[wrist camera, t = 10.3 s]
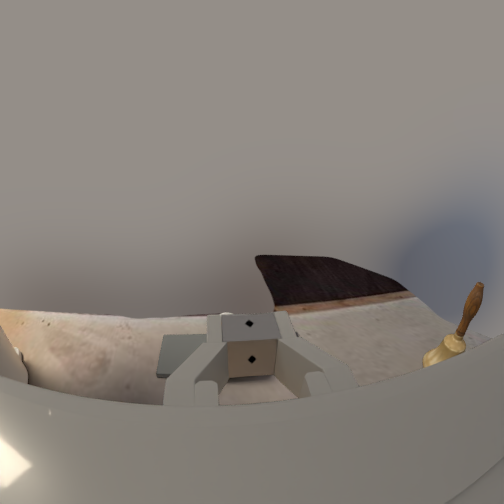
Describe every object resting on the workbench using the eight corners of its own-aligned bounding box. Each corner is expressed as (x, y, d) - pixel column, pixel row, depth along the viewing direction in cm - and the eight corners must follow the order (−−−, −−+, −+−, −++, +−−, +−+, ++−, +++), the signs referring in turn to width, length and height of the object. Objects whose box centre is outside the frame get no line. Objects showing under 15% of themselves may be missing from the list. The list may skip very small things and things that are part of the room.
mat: (157, 377, 35) (156, 373, 35) (164, 338, 43) (163, 334, 43) (307, 368, 38) (308, 365, 37) (293, 332, 46) (293, 328, 46)
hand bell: (469, 374, 31) (510, 292, 25) (438, 389, 30) (484, 301, 24) (445, 346, 39) (476, 268, 33) (414, 356, 38) (446, 272, 32)
